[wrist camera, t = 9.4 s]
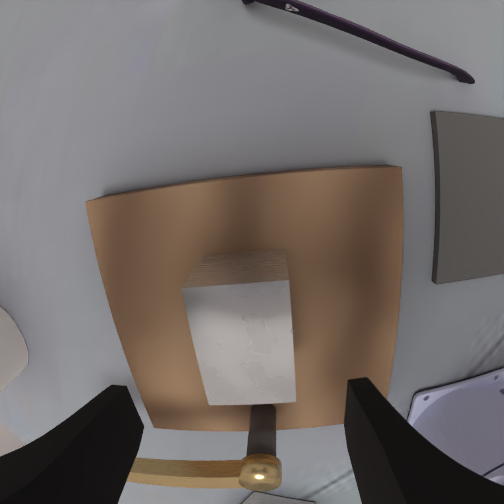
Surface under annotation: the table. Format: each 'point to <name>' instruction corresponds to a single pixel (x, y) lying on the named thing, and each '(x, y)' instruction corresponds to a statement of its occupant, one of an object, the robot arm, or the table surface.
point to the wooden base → (300, 282)
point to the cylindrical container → (11, 350)
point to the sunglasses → (363, 34)
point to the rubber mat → (468, 196)
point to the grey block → (242, 327)
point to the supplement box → (271, 499)
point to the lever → (210, 473)
